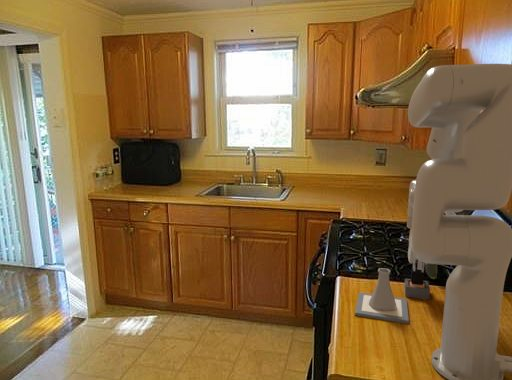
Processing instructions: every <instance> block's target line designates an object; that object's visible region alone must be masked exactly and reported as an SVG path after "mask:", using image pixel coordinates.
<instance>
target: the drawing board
mask: <svg viewBox="0 0 512 380" xmlns="http://www.w3.org/2000/svg"><path fill="white" fill-rule="evenodd" d="M372 294H373V293H366V292H358V295H357V300H356V305H355V311H354V316H355V315H357V316H356V317H363V318H369V319H374V320H375V319H376V320H382V321H387V322H388V321H389V322H395V323H400V324H401V323H402V324H406V325H407V324H408V325H409V323H410V320H409V309H408V299H407V298H403V297H397V296H394V299H395V302H396V308H395V310H388V311H383V310H379V309H374V308H372V307H371V305H370V304H369V301H370V299H371V297H372Z"/></svg>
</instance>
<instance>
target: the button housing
mask: <svg viewBox="0 0 512 380" xmlns="http://www.w3.org/2000/svg"><path fill="white" fill-rule="evenodd" d="M410 282H411V278H404V285H403V286H404V288H405V289H404V297H405V296H407V298H412V297H413V299H420V298H421V299H422V300H430V299H431V298H430V295H431V288H430V287H431V286H430V283H429V281H427V280H423V283H424V284H425V286H424V288H420V287H412V286H410Z"/></svg>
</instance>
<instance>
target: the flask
mask: <svg viewBox="0 0 512 380" xmlns="http://www.w3.org/2000/svg"><path fill="white" fill-rule="evenodd" d="M377 272H378V277H377V278H378V279H377V283H376V285H375V287H374V290H373V293H371V294H372V297H371V299H370V301H369V304H370V305H371V307H372V308H374V309H379V310H383V311H388V310H395V308H396V302H395V299H394V297H395V296H394V294H393V290H392V287H391V283H390V274H391V270H390V269H389V268H382V267H381V268H380V267H379V268H378V269H377Z"/></svg>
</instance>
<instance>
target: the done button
mask: <svg viewBox="0 0 512 380" xmlns="http://www.w3.org/2000/svg"><path fill="white" fill-rule="evenodd" d="M410 286H412V287H420V288H424V286H425V284H424V283H423V285H418V284H412V283H411V282H410Z"/></svg>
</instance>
